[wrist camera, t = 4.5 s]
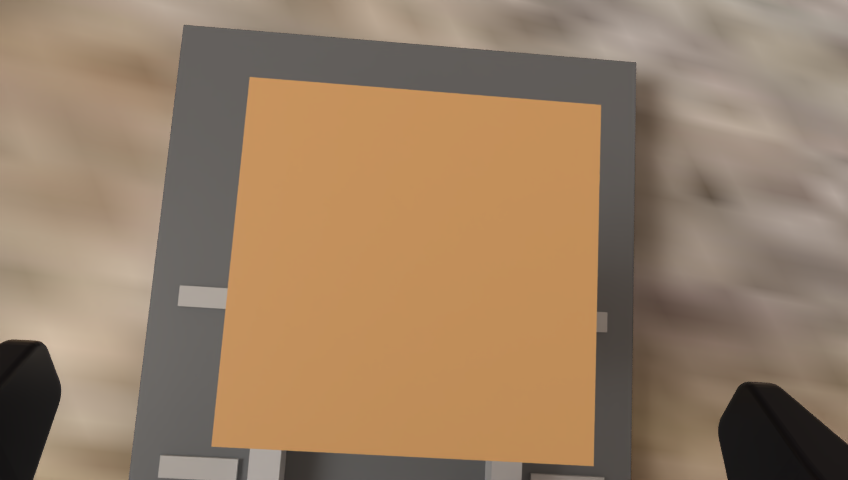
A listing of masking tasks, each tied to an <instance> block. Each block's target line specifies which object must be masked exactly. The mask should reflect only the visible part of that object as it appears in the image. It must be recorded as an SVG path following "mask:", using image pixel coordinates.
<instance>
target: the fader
mask: <svg viewBox="0 0 848 480" xmlns="http://www.w3.org/2000/svg"><path fill="white" fill-rule="evenodd" d="M600 136H601V105H596V104H583V103H571V102H558V101H546V100H533V99H521V98H508V97H496V96H483V95H470V94H458V93H445V92H433V91H420V90H408V89H395V88H382V87H370V86H357V85H345V84H332V83H320V82H307V81H295V80H282V79H269V78H257V77H250V79H249V88H248V98H247V108H246V117H245V127H244V137H243V146H242V156H241V165H240V175H239V185H238V194H237V204H236V213H235V223H234V233H233V242H232V252H231V262H230V271H229V281H228V290H227V300H226V310H225V319H224V329H223V339H222V348H221V358H220V367H219V377H218V387H217V396H216V406H215V416H214V425H213V435H212V444H211V447H228V448H248V449H267V450H287V451H306V452H326V453H346V454H365V455H385V456H404V457H424V458H443V459H463V460H482V461H502V462H522V463H541V464H561V465H580V466H594V424H595V376H596V328H597V280H598V232H599V184H600Z"/></svg>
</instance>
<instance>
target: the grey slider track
mask: <svg viewBox="0 0 848 480" xmlns="http://www.w3.org/2000/svg"><path fill="white" fill-rule="evenodd" d="M250 77H257V78H269V79H282V80H295V81H307V82H320V83H332V84H345V85H357V86H370V87H382V88H395V89H408V90H420V91H433V92H445V93H458V94H470V95H483V96H496V97H508V98H521V99H533V100H546V101H558V102H571V103H583V104H596V105H601V136H600V184H599V232H598V280H597V328H596V376H595V424H594V466H580V465H561V464H541V463H522V462H502V461H482V460H463V459H443V458H424V457H404V456H385V455H365V454H346V453H326V452H306V451H287V450H267V449H248V448H228V447H211V444H212V435H213V425H214V416H215V406H216V396H217V387H218V377H219V367H220V358H221V348H222V339H223V329H224V319H225V310H226V300H227V290H228V281H229V271H230V262H231V252H232V242H233V233H234V223H235V213H236V204H237V194H238V185H239V175H240V165H241V156H242V146H243V137H244V127H245V117H246V108H247V98H248V88H249V79H250ZM635 115H636V62H624V61H612V60H600V59H588V58H576V57H564V56H552V55H540V54H528V53H516V52H504V51H492V50H480V49H468V48H456V47H444V46H432V45H420V44H408V43H396V42H384V41H372V40H360V39H348V38H336V37H323V36H311V35H299V34H287V33H275V32H263V31H251V30H239V29H227V28H215V27H203V26H191V25H184V27H183V35H182V43H181V51H180V60H179V68H178V76H177V84H176V93H175V101H174V109H173V117H172V126H171V134H170V142H169V151H168V159H167V167H166V175H165V184H164V192H163V200H162V208H161V217H160V225H159V233H158V241H157V250H156V258H155V266H154V274H153V283H152V291H151V299H150V308H149V316H148V324H147V332H146V341H145V349H144V357H143V365H142V374H141V382H140V390H139V398H138V407H137V415H136V423H135V432H134V440H133V448H132V456H131V465H130V473H129V480H631V430H632V351H633V272H634V194H635Z"/></svg>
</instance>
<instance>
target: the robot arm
mask: <svg viewBox="0 0 848 480" xmlns="http://www.w3.org/2000/svg"><path fill="white" fill-rule="evenodd" d="M60 397H61V384H60V381H59V378H58V375H57V373H56V370H55V367H54V365H53V362H52V360H51V357H50V354H49V352H48V349H47V347H46V346H45V345H44V344H43V343H42V342H40V341H32V340H7V341H5V342H2V343H1V344H0V480H33V478H34V475H35V472H36V470H37V467H38V464H39V461H40V458H41V455H42V452H43V449H44V446H45V443H46V440H47V437H48V434H49V431H50V429H51V426H52V423H53V420H54V417H55V414H56V411H57V408H58V405H59V402H60ZM718 435H719V441H720V446H721V450H722V455H723V459H724V464H725V469H726V473H727V478H728V480H848V444H847V443H845V442H844V441H843V440H842V439H841V438H840V437H838V436H837V435H836V434H835V433H834V432H832V431H831V430H830V429H829V428H828V427H827V426H825V425H824V424H823V423H822V422H821V421H820V420H818V419H817V418H816V417H815V416H814V415H812V414H811V413H810V412H809V411H808V410H807V409H805V408H804V407H803V406H802V405H801V404H800V403H798V402H797V401H796V400H795V399H794V398H792V397H791V396H790V395H789V394H788V393H787V392H785V391H784V390H783V389H782V388H780V387H779V386H777V385H775V384H772V383H762V382H744V383H743V384H741V385H740V386H739V387H738V388H737V390H736V392H735V394H734V395H733V397H732V399H731V401H730V403H729V404H728V406H727V408H726V410H725V411H724V413H723V415H722V417H721V419H720V422H719V427H718Z"/></svg>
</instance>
